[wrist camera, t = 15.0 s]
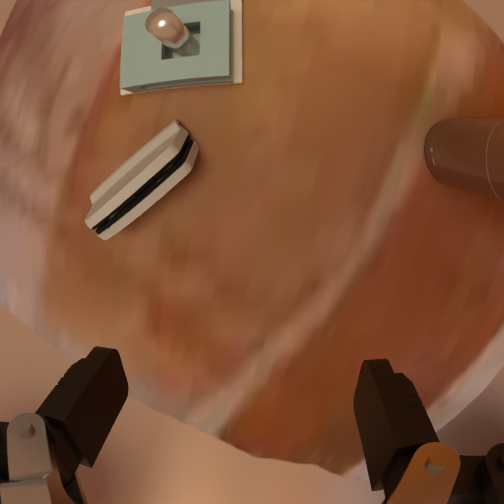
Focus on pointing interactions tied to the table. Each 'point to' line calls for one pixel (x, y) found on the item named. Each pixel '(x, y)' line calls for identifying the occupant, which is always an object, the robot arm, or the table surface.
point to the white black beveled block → (141, 180)
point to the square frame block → (191, 67)
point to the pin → (172, 32)
